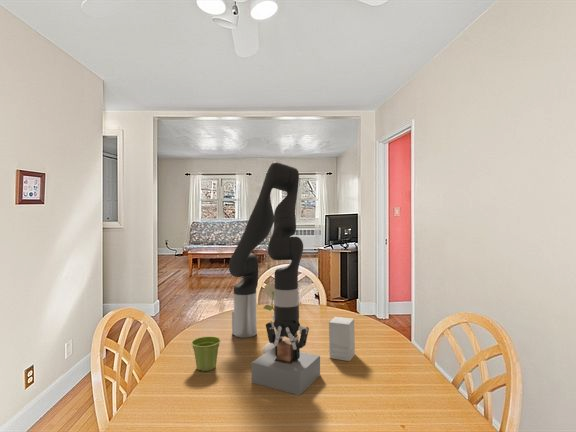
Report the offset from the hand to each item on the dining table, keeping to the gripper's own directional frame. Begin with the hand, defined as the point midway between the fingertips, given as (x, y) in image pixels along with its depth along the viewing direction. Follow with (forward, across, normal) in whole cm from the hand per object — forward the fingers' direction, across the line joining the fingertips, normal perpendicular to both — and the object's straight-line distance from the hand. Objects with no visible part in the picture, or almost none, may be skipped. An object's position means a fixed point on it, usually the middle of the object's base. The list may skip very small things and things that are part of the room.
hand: (287, 358), depth 110 cm
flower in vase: (+6, +12, -15) cm, 20 cm away
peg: (+5, 0, 0) cm, 5 cm away
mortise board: (+6, 0, 0) cm, 6 cm away
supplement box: (+6, -9, -24) cm, 26 cm away
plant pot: (+6, +27, +5) cm, 28 cm away
